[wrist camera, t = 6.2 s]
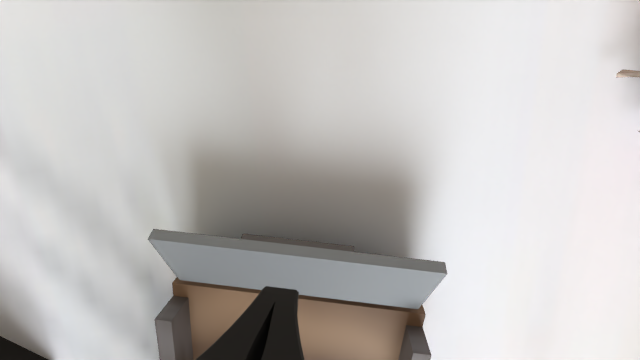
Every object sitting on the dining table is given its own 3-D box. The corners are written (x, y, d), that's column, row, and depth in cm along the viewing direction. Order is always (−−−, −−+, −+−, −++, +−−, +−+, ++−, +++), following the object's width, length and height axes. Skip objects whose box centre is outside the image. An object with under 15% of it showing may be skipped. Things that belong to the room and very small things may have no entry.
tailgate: (418, 309, 18) (447, 273, 14) (179, 279, 19) (147, 239, 15) (415, 289, 19) (442, 251, 15) (187, 262, 19) (159, 219, 16)
